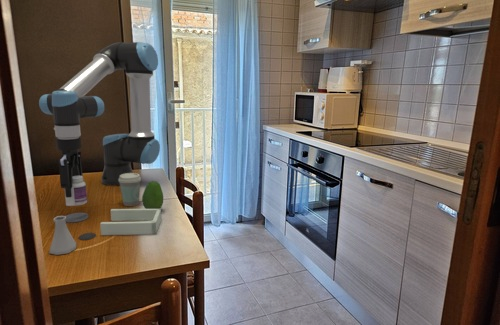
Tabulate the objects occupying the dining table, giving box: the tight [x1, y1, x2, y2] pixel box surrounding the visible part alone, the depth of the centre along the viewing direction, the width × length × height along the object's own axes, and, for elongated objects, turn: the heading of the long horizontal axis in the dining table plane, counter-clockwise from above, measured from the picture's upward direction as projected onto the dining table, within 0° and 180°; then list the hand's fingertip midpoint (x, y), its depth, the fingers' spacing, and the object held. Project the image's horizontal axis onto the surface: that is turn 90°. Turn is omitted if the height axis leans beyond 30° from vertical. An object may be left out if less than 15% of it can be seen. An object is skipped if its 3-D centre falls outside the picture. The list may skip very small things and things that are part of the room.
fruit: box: [141, 180, 164, 209], centre depth 126 cm, size 8×8×12 cm
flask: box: [48, 215, 78, 256], centre depth 96 cm, size 7×7×10 cm
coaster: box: [65, 212, 89, 224], centre depth 119 cm, size 8×8×1 cm
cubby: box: [100, 208, 162, 236], centre depth 113 cm, size 12×17×4 cm
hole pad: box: [78, 232, 97, 241], centre depth 105 cm, size 5×5×1 cm
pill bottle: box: [72, 175, 88, 206], centre depth 116 cm, size 5×5×10 cm
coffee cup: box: [118, 172, 142, 207], centre depth 133 cm, size 8×8×12 cm
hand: (74, 202), depth 117 cm, fingers closed on pill bottle, 5 cm apart
